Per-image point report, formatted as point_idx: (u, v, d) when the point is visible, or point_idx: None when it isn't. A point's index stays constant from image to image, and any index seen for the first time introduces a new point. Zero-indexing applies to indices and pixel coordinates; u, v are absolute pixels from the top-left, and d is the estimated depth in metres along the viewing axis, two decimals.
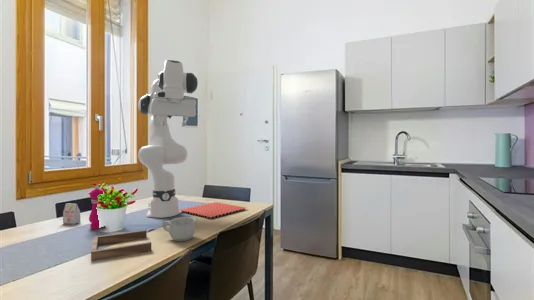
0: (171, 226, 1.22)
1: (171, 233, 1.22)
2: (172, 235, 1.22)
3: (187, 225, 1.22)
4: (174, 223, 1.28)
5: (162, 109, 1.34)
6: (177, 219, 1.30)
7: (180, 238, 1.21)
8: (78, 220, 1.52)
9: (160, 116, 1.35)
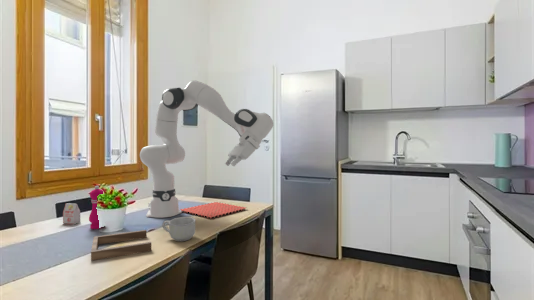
0: (171, 226, 1.22)
1: (171, 233, 1.22)
2: (172, 235, 1.22)
3: (187, 225, 1.22)
4: (174, 223, 1.28)
5: None
6: (177, 219, 1.30)
7: (180, 238, 1.21)
8: (78, 220, 1.52)
9: None
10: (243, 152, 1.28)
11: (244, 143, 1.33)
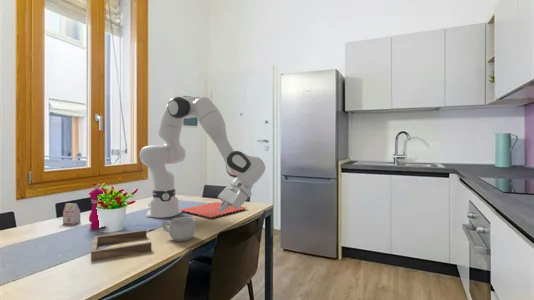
0: (171, 226, 1.22)
1: (171, 233, 1.22)
2: (172, 235, 1.22)
3: (187, 225, 1.22)
4: (174, 223, 1.28)
5: None
6: (177, 219, 1.30)
7: (180, 238, 1.21)
8: (78, 220, 1.52)
9: None
10: (235, 202, 1.27)
11: (236, 190, 1.32)
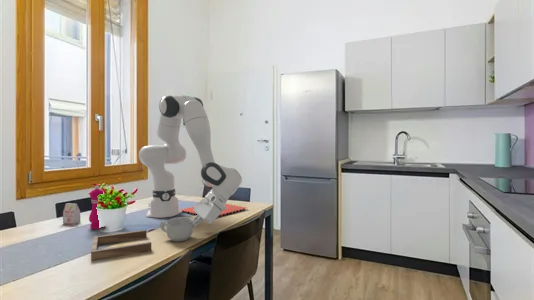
0: (168, 226, 1.21)
1: (168, 233, 1.22)
2: (169, 235, 1.21)
3: (184, 225, 1.21)
4: (171, 223, 1.28)
5: None
6: (175, 219, 1.29)
7: (177, 238, 1.21)
8: (78, 220, 1.52)
9: None
10: (207, 217, 1.22)
11: (209, 204, 1.27)
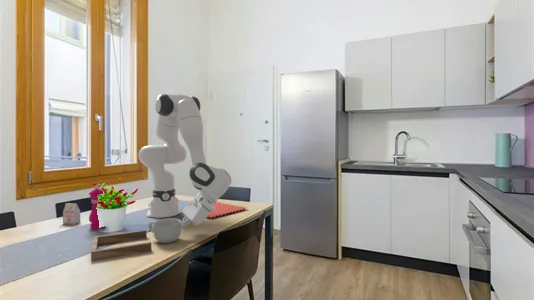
0: (154, 227, 1.20)
1: (155, 234, 1.20)
2: (155, 236, 1.20)
3: (170, 227, 1.19)
4: (160, 224, 1.26)
5: None
6: (164, 220, 1.27)
7: (163, 240, 1.19)
8: (78, 220, 1.52)
9: None
10: (195, 218, 1.19)
11: (198, 205, 1.24)
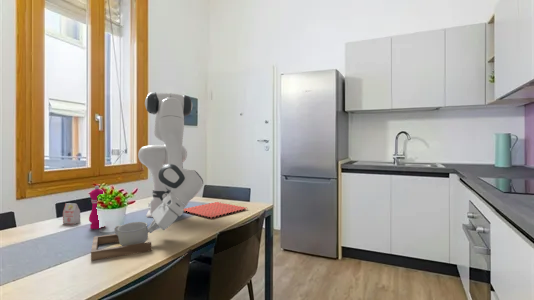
0: (118, 232, 1.14)
1: (119, 239, 1.15)
2: (120, 242, 1.14)
3: (134, 232, 1.13)
4: (127, 228, 1.21)
5: None
6: (131, 224, 1.22)
7: None
8: (78, 220, 1.52)
9: None
10: (161, 222, 1.13)
11: (165, 209, 1.19)
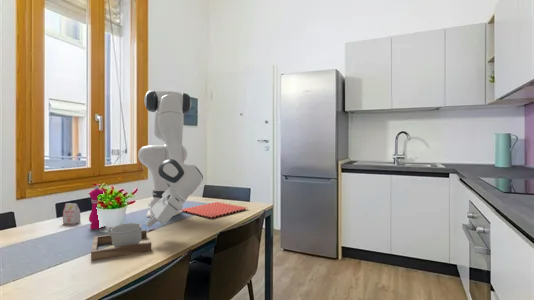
0: (111, 233, 1.13)
1: (112, 240, 1.13)
2: (113, 243, 1.13)
3: (127, 233, 1.12)
4: (120, 229, 1.20)
5: None
6: (125, 225, 1.21)
7: None
8: (78, 220, 1.52)
9: None
10: (160, 217, 1.14)
11: (165, 203, 1.19)
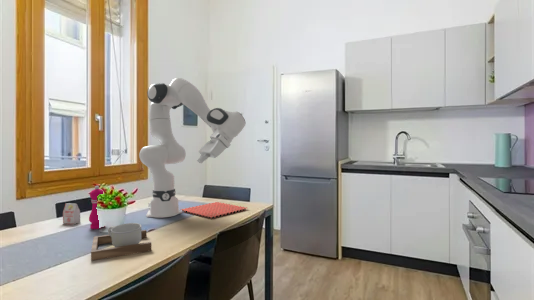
0: (111, 233, 1.13)
1: (112, 240, 1.13)
2: (113, 243, 1.13)
3: (127, 233, 1.12)
4: (120, 229, 1.20)
5: None
6: (125, 225, 1.21)
7: None
8: (78, 220, 1.52)
9: None
10: (213, 150, 1.28)
11: (215, 141, 1.33)
